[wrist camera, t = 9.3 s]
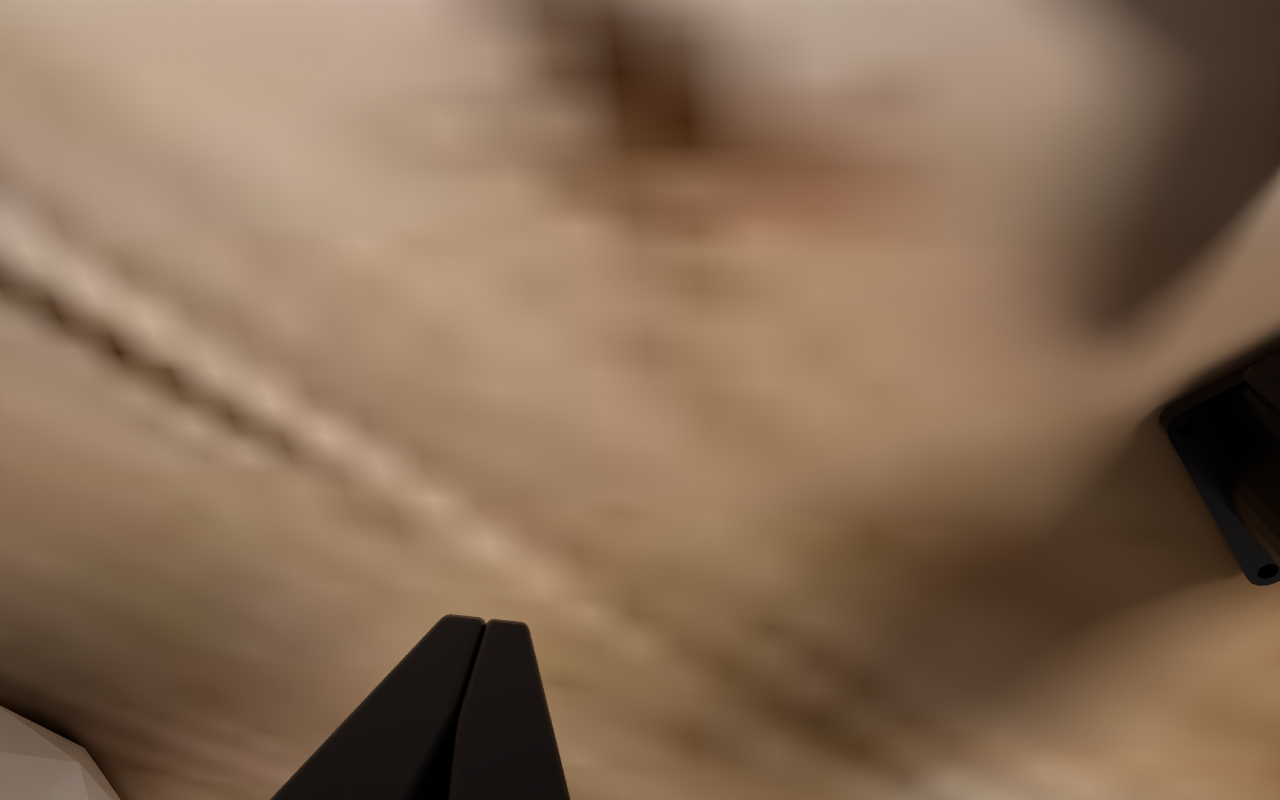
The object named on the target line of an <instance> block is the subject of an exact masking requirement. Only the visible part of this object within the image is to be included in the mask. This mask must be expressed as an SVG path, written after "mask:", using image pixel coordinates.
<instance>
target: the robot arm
mask: <svg viewBox="0 0 1280 800" xmlns="http://www.w3.org/2000/svg"><path fill="white" fill-rule="evenodd" d="M1188 418H1192V419H1191V421H1190V422H1189V423H1187V424H1186V425H1184V426H1181V427H1179V425H1180V423H1181V422H1183V421H1184V420H1185V419H1188ZM1159 426H1160V429H1161V431H1162V432H1163V434H1164V436H1165V438H1166V440H1167V441H1168V443H1169V445H1170V447H1171V448H1172V450H1173V452H1174V454H1175V455H1176V457H1177V459H1178V461H1179V463H1180V464H1181V466H1182V468H1183V470H1184V471H1185V473H1186V475H1187V477H1188V479H1189V480H1190V482H1191V484H1192V486H1193V487H1194V489H1195V491H1196V493H1197V494H1198V496H1199V498H1200V500H1201V502H1202V503H1203V505H1204V507H1205V509H1206V510H1207V512H1208V514H1209V516H1210V518H1211V519H1212V521H1213V523H1214V525H1215V526H1216V528H1217V530H1218V532H1219V533H1220V535H1221V537H1222V539H1223V541H1224V542H1225V544H1226V546H1227V548H1228V549H1229V551H1230V553H1231V555H1232V557H1233V558H1234V560H1235V562H1236V564H1237V565H1238V567H1239V569H1240V570H1241V572H1242V573H1243V574H1244V575H1245V576H1246V578H1247V579H1248V580H1249V581H1250V582H1251V583H1252V584H1255V585H1258V586H1263V585H1270V584H1273V583H1276V582H1278V581H1280V349H1278V350H1276V351H1274V352H1272V353H1271V354H1269V355H1267V356H1265V357H1263V358H1261V359H1259V360H1257V361H1255V362H1253V363H1251V364H1249V365H1247V366H1245V367H1243V368H1241V369H1239V370H1237V371H1235V372H1233V373H1231V374H1229V375H1227V376H1226V377H1224V378H1222V379H1220V380H1218V381H1216V382H1214V383H1212V384H1210V385H1208V386H1206V387H1204V388H1202V389H1200V390H1198V391H1196V392H1194V393H1192V394H1190V395H1188V396H1186V397H1184V398H1182V399H1180V400H1179V401H1177V402H1175V403H1173V404H1171V405H1170V406H1169V407H1167V408H1166V409H1165V410H1164V411H1163V413H1162V414H1161V416H1160V419H1159ZM1264 565H1265V566H1264ZM270 800H570V796H569V792H568V788H567V784H566V780H565V775H564V771H563V767H562V763H561V759H560V755H559V751H558V746H557V742H556V738H555V734H554V730H553V726H552V722H551V717H550V713H549V709H548V705H547V701H546V697H545V693H544V688H543V684H542V680H541V676H540V672H539V668H538V664H537V659H536V655H535V651H534V647H533V643H532V639H531V635H530V631H529V628H528V626H527V625H526V624H525V623H523V622H517V621H508V620H498V619H491V620H489V621H488V622H487V624H486V623H485V621H484V620H483V619H482V618H480V617H471V616H462V615H453V614H449V615H446V616H444V617H442V618H441V619H440V620H439V621H438V622H437V623H436V624H435V625H434V626H433V628H432V629H431V630H430V631H429V632H428V633H427V634H426V635H425V636H424V637H423V638H422V639H421V640H420V641H419V642H418V643H417V644H416V646H415V647H414V648H413V649H412V650H411V651H410V652H409V653H408V654H407V655H406V656H405V657H404V658H403V659H402V660H401V661H400V662H399V664H398V665H397V666H396V667H395V668H394V669H393V670H392V671H391V672H390V673H389V674H388V675H387V676H386V677H385V678H384V679H383V680H382V682H381V683H380V684H379V685H378V686H377V687H376V688H375V689H374V690H373V691H372V692H371V693H370V694H369V695H368V696H367V697H366V698H365V700H364V701H363V702H362V703H361V704H360V705H359V706H358V707H357V708H356V709H355V710H354V711H353V712H352V713H351V714H350V715H349V716H348V718H347V719H346V720H345V721H344V722H343V723H342V724H341V725H340V726H339V727H338V728H337V729H336V730H335V731H334V732H333V733H332V734H331V736H330V737H329V738H328V739H327V740H326V741H325V742H324V743H323V744H322V745H321V746H320V747H319V748H318V749H317V750H316V751H315V752H314V754H313V755H312V756H311V757H310V758H309V759H308V760H307V761H306V762H305V763H304V764H303V765H302V766H301V767H300V768H299V769H298V771H297V772H296V773H295V774H294V775H293V776H292V777H291V778H290V779H289V780H288V781H287V782H286V783H285V784H284V785H283V786H282V787H281V789H280V790H279V791H278V792H277V793H276V794H275V795H274V796H273V797H272V798H271V799H270Z"/></svg>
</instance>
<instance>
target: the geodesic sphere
mask: <svg viewBox="0 0 1280 800" xmlns="http://www.w3.org/2000/svg"><path fill="white" fill-rule="evenodd" d="M0 800H120V798H119V797H118V795H117V794H116V792H115V791H114V790H113V788H112V787H111V785H110V784H109V782H108V781H107V779H106V778H105V776H104V775H103V774H102V772H101V771H100V769H99V768H98V766H97V765H96V763H95V762H94V761H93V759H92V758H91V756H90V755H89V753H88V752H87V750H86V749H85V748H84V747H82V746H80V745H78V744H76V743H74V742H72V741H70V740H68V739H66V738H64V737H62V736H60V735H58V734H56V733H54V732H52V731H50V730H48V729H46V728H44V727H42V726H40V725H38V724H36V723H34V722H32V721H30V720H28V719H26V718H24V717H22V716H20V715H18V714H16V713H14V712H12V711H10V710H8V709H6V708H4V707H2V706H0Z"/></svg>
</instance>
